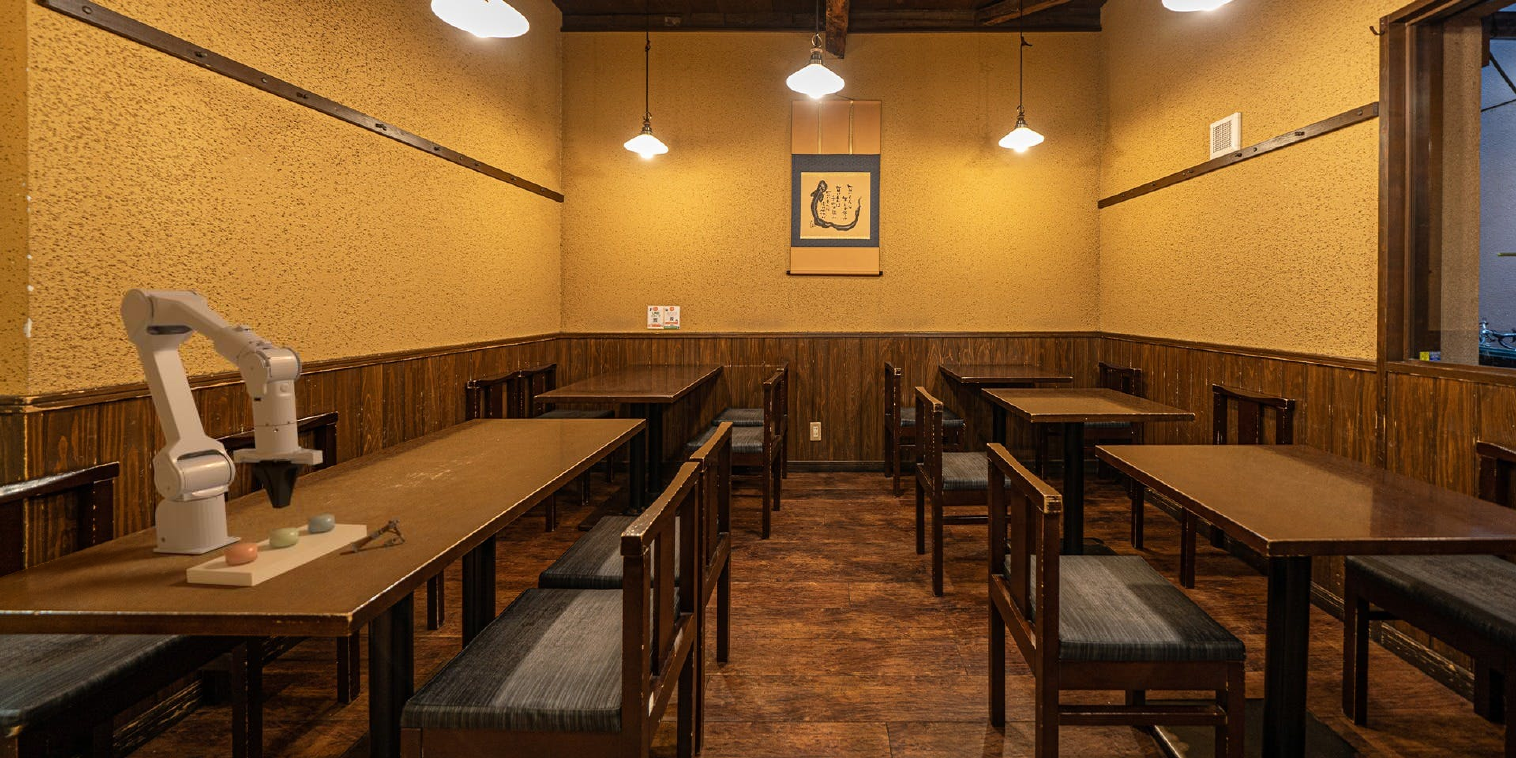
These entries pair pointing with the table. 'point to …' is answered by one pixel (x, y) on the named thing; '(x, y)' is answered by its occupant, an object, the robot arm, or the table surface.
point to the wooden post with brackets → (377, 534)
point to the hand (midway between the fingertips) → (281, 506)
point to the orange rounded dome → (241, 553)
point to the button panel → (276, 557)
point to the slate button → (321, 523)
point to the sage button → (283, 537)
